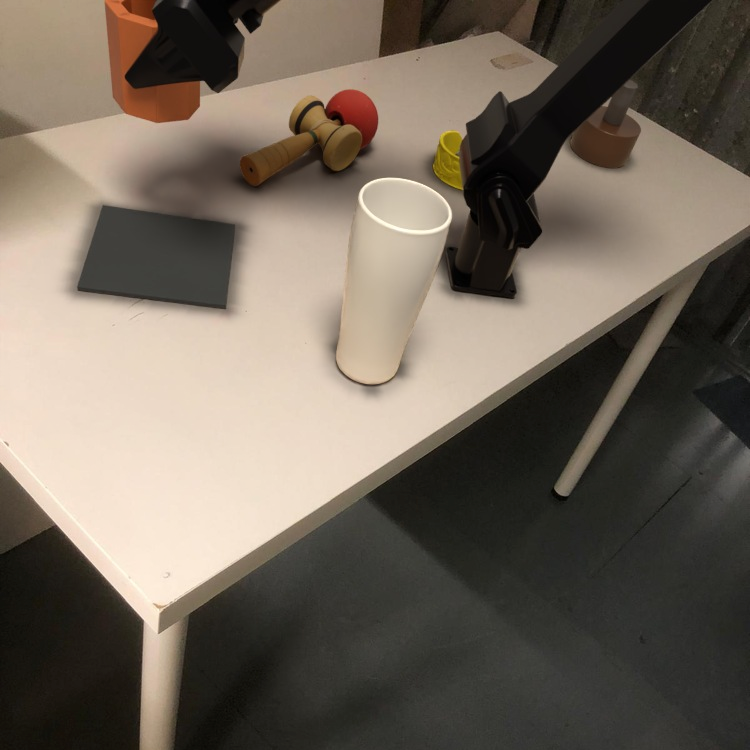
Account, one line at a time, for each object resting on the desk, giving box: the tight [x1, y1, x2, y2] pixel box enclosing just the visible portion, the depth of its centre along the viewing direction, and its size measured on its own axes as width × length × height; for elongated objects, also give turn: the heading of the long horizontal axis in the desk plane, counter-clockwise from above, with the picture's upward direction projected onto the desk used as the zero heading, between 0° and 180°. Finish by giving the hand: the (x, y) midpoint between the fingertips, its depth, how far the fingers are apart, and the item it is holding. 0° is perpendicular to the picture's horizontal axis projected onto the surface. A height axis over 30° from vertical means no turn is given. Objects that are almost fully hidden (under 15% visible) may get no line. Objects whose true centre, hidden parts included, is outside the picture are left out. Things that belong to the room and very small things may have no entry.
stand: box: [569, 79, 642, 169], centre depth 92 cm, size 8×8×8 cm
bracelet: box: [432, 130, 463, 191], centre depth 84 cm, size 7×8×3 cm
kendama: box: [239, 88, 379, 187], centre depth 79 cm, size 8×6×18 cm
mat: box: [76, 204, 236, 310], centre depth 66 cm, size 12×12×1 cm
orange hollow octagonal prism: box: [104, 0, 201, 124], centre depth 58 cm, size 6×6×7 cm
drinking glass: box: [335, 177, 453, 385], centre depth 57 cm, size 7×7×15 cm
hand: (139, 62), depth 59 cm, fingers closed on orange hollow octagonal prism, 7 cm apart
